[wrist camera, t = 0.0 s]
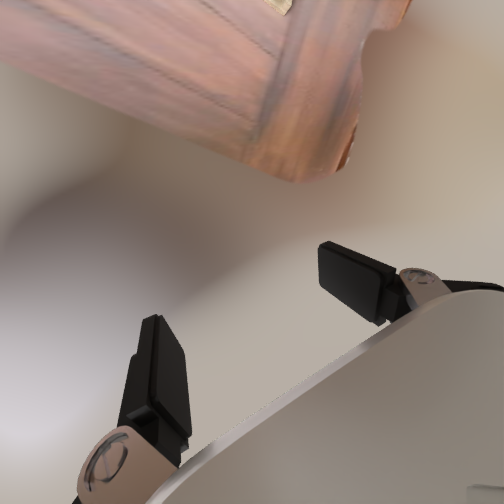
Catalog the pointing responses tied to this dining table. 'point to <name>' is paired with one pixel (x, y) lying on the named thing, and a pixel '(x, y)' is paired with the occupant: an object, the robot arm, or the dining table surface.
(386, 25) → the dining table surface
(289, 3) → the tray
